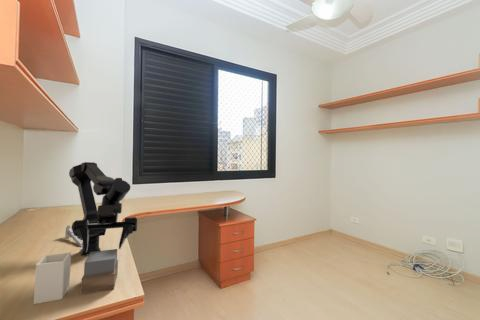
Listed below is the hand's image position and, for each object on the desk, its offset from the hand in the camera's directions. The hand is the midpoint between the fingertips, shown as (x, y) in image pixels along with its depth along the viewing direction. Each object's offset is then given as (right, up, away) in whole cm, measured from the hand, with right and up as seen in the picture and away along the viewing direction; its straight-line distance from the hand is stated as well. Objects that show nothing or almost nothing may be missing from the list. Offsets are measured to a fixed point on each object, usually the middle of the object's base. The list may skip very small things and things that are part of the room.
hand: (103, 250), depth 68 cm
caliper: (-33, -10, +31) cm, 47 cm away
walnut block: (+1, -9, -2) cm, 9 cm away
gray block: (+1, -5, -2) cm, 5 cm away
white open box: (-8, -9, -9) cm, 15 cm away
